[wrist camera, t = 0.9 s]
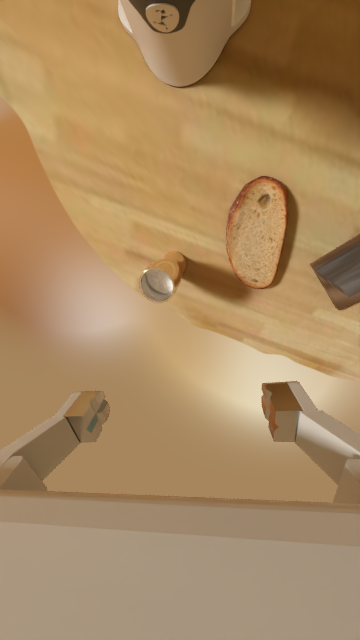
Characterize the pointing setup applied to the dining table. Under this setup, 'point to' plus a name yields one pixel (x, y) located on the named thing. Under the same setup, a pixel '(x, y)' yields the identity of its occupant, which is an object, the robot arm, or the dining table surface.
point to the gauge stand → (341, 273)
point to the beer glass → (162, 277)
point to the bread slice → (257, 231)
